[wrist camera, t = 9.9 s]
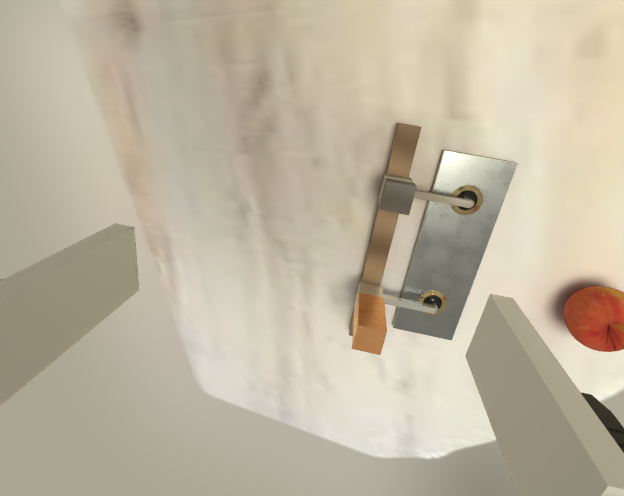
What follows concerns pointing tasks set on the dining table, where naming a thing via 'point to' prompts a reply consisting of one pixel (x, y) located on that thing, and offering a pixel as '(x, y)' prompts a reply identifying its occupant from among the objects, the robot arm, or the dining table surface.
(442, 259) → the bolt plate
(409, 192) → the gauge rail
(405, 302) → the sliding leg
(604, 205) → the dining table surface
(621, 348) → the apple
